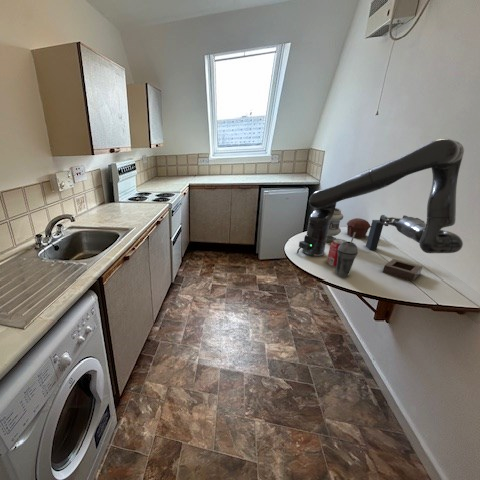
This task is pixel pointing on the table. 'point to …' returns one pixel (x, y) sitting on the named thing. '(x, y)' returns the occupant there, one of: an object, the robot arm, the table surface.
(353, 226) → the muffin
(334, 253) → the soda can
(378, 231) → the dark gray rectangular block
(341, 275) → the beverage cup
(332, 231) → the apothecary jar
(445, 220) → the robot arm
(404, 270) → the frame
